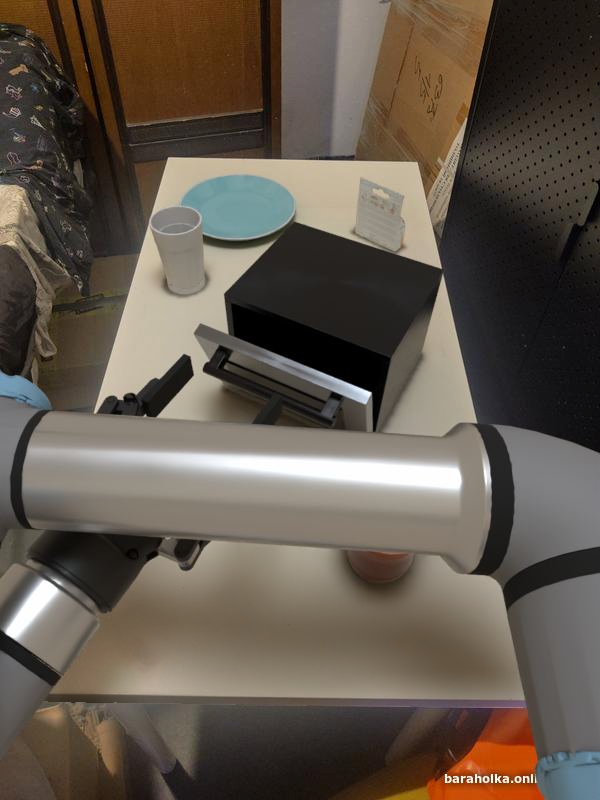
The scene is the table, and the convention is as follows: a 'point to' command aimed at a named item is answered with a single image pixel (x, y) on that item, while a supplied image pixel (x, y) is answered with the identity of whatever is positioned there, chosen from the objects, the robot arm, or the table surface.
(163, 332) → the table surface
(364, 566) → the mug
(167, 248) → the cup
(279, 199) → the plate
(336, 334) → the box
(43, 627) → the robot arm
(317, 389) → the door
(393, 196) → the ink box
